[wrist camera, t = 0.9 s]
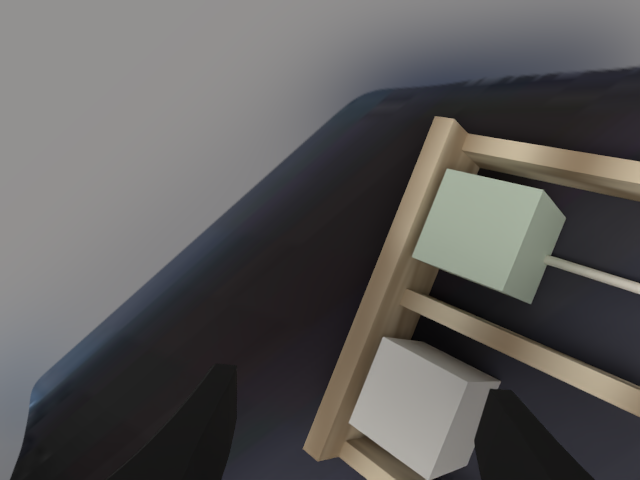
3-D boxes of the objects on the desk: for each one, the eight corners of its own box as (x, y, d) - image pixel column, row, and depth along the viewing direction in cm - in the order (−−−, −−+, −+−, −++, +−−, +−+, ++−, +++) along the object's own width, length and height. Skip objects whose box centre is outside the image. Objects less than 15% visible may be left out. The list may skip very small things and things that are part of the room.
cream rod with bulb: (947, 314, 17) (1021, 296, 13) (892, 443, 17) (950, 462, 13) (480, 196, 29) (447, 168, 25) (449, 272, 29) (411, 257, 25)
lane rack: (755, 203, 21) (769, 164, 17) (583, 614, 21) (560, 666, 18) (467, 149, 30) (435, 116, 26) (352, 439, 30) (302, 448, 27)
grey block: (501, 381, 26) (468, 382, 22) (467, 465, 26) (428, 481, 22) (424, 341, 29) (383, 336, 25) (393, 416, 29) (348, 422, 25)
